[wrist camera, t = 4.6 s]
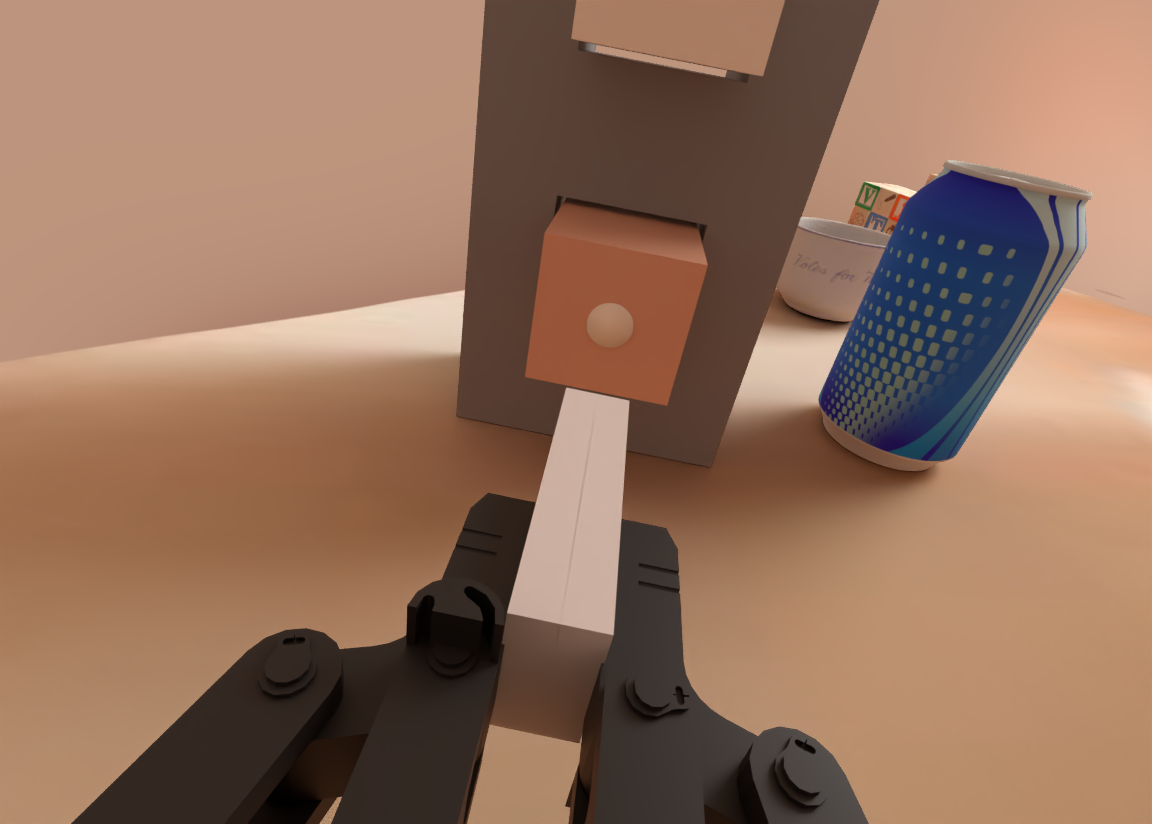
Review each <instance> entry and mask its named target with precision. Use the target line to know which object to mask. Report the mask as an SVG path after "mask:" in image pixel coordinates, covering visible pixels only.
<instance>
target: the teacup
mask: <svg viewBox="0 0 1152 824" xmlns="http://www.w3.org/2000/svg"><path fill="white" fill-rule="evenodd" d="M890 237H891V235H889V234H886V233H883V232H880V231H876V230H873V229H867V228H864V227H861V226H857V225H851V224H847V223H842V222H838V221H833V220H826V219H820V218H811V217H809V218H808V217H801V219H800V222H799V224H798V227H797V230H796V233H795V236H794V238H793V241H792V244H791V247H790V249H789V252H788V255H787V258H786V260H785V263H784V266H783V269H782V272H781V274H780V277H779V280H778V283H777V285H776V288H777V289H778V291H779V292H780V293H781V295H782V296H783V300H784V301H785V302H786V304H788V305H789V306H790V307H792V308H793V309H795V310H797V311H799V312H802V313H805V314H807V315H811V316H814V317H818V318H822V319H827V320H833V321H843V322H846V321H852V320H853V319H854V317H855V315H856V313H857V310H858V308H859V306H860V304H861V302H862V299H863V297H864V295H865V293H866V290H867V288H868V286H869V284H870V281H871V279H872V277H873V275H874V273H875V270H876V268H877V266H878V264H879V261H880V259H881V257H882V255H883V252H884V250H885V248H886V246H887V244H888V241H889V239H890Z"/></svg>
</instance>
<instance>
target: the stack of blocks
mask: <svg viewBox="0 0 1152 824" xmlns="http://www.w3.org/2000/svg"><path fill="white" fill-rule="evenodd" d="M936 176H937V174H930V176H929V178H928V180H927V182H926V184H928V183H929V182H930V181H931V180H933V179H934V178H935V177H936ZM926 184H925V185H926ZM915 193H916V192H915V191H913V190H910V189H907V188H904V187H901V186H897V185H891V184H883V183H882V184H880V183H873V182H865V181H864V183H863V185H862V188H861V190H860V192H859V195H858V197H857V200H856V203H855V207H854V210H853V212H852V214H851V217H850V219H849V221H848V224H851V225H857V226H861V227H864V228H867V229H873V230H876V231H880V232H883V233H886V234H889V235H892V232H893V230H894V228H895V226H896V224H897V221H898V219H899V217H900V215H901V212H902V210H903V208H904V206H905V204H906V202H907V201H908V200H909V198H910V197H912V196H913V195H914V194H915Z"/></svg>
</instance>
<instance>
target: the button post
mask: <svg viewBox="0 0 1152 824" xmlns="http://www.w3.org/2000/svg"><path fill="white" fill-rule="evenodd" d="M878 2H879V0H785V2H784V6H783V9H782V13H781V16H780V19H779V23H778V26H777V30H776V33H775V37H774V40H773V43H772V47H771V50H770V54H769V57H768V61H767V64H766V67H765V71H764V74H763V76H758V75H752V74H746V73H740V72H734V71H728V70H727V73H726V77H720V76H715V75H710V74H705V73H700V72H694V71H690V70H685V69H679V68H674V67H669V66H664V65H659V64H654V63H649V62H643V61H639V60H633V59H629V58H623V57H618V56H613V55H608V54H603V53H598V52H595V50H596V44H591V43H587V42H583V41H579V40H575V39H571V37H572V29H573V22H574V15H575V7H576V0H485V11H484V27H483V40H482V55H481V69H480V84H479V97H478V113H477V126H476V141H475V155H474V169H473V184H472V198H471V213H470V227H469V241H468V257H467V270H466V284H465V299H464V313H463V328H462V342H461V356H460V371H459V385H458V400H457V414H456V416H459V417H464V418H469V419H474V420H479V421H484V422H488V423H493V424H498V425H503V426H508V427H513V428H518V429H523V430H528V431H533V432H538V433H543V434H548V435H553V436H554V433H555V429H556V425H557V421H558V417H559V414H560V410H561V406H562V402H563V399H564V395H565V391H566V388H571V389H576V390H580V391H585V392H590V393H595V394H600V395H605V396H609V397H614V398H619V399H624V400H629V414H628V428H627V443H626V450H627V451H632V452H637V453H642V454H646V455H651V456H656V457H661V458H666V459H671V460H676V461H681V462H686V463H691V464H696V465H701V466H706V467H711V466H712V463H713V460H714V457H715V455H716V452H717V449H718V446H719V443H720V441H721V438H722V435H723V432H724V430H725V427H726V424H727V421H728V418H729V416H730V413H731V410H732V407H733V405H734V402H735V399H736V396H737V394H738V391H739V388H740V385H741V382H742V380H743V377H744V374H745V371H746V369H747V366H748V363H749V360H750V358H751V355H752V352H753V349H754V346H755V344H756V341H757V338H758V335H759V333H760V330H761V327H762V324H763V321H764V319H765V316H766V313H767V310H768V308H769V305H770V302H771V299H772V297H773V294H774V291H775V288H776V285H777V283H778V280H779V277H780V274H781V272H782V269H783V266H784V263H785V260H786V258H787V255H788V252H789V249H790V247H791V244H792V241H793V238H794V236H795V233H796V230H797V227H798V224H799V222H800V219H801V216H802V213H803V211H804V208H805V205H806V202H807V200H808V196H809V194H810V191H811V188H812V186H813V182H814V180H815V177H816V175H817V172H818V169H819V166H820V163H821V161H822V158H823V155H824V152H825V150H826V147H827V144H828V141H829V138H830V136H831V133H832V130H833V127H834V125H835V122H836V119H837V116H838V113H839V111H840V108H841V105H842V102H843V100H844V97H845V94H846V91H847V88H848V86H849V83H850V80H851V78H852V75H853V72H854V69H855V66H856V63H857V61H858V58H859V55H860V53H861V50H862V47H863V44H864V41H865V39H866V36H867V33H868V30H869V27H870V25H871V22H872V19H873V16H874V14H875V11H876V8H877V5H878ZM567 197H569V198H574V199H579V200H584V201H589V202H594V203H599V204H604V205H609V206H614V207H619V208H624V209H629V210H634V211H639V212H644V213H649V214H654V215H659V216H664V217H669V218H674V219H679V220H684V221H689V222H694V223H697V226H698V230H699V234H700V237H701V241H702V245H703V249H704V252H705V256H706V260H707V264H708V267H707V270H706V274H705V277H704V281H703V284H702V287H701V291H700V294H699V298H698V301H697V305H696V308H695V311H694V315H693V318H692V322H691V325H690V329H689V332H688V335H687V339H686V342H685V346H684V349H683V353H682V356H681V360H680V363H679V366H678V370H677V373H676V377H675V380H674V384H673V387H672V390H671V394H670V397H669V401H668V404H667V406H666V405H661V404H656V403H651V402H647V401H642V400H637V399H632V398H627V397H622V396H617V395H612V394H607V393H602V392H597V391H592V390H587V389H582V388H577V387H572V386H567V385H562V384H557V383H552V382H547V381H542V380H537V379H533V378H528V377H525V373H526V365H527V358H528V351H529V343H530V336H531V329H532V321H533V314H534V307H535V300H536V292H537V285H538V278H539V270H540V263H541V256H542V248H543V241H544V234H545V231H546V230H547V228H548V227H549V225H550V223H551V222H552V220H553V219H554V217H555V215H556V214H557V212H558V210H559V209H560V207H561V206H562V204H563V202H564V201H565V199H566V198H567Z"/></svg>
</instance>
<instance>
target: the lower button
mask: <svg viewBox="0 0 1152 824" xmlns="http://www.w3.org/2000/svg"><path fill="white" fill-rule="evenodd" d="M707 267H708V264H707V260H706V256H705V252H704V249H703V245H702V241H701V237H700V234H699V230H698V226H697V223H694V222H689V221H684V220H679V219H674V218H669V217H664V216H659V215H654V214H649V213H644V212H639V211H634V210H629V209H624V208H619V207H614V206H609V205H604V204H599V203H594V202H589V201H584V200H579V199H574V198H569V197H567V198H566V199H565V201H564V202H563V204H562V206H561V207H560V209H559V210H558V212H557V214H556V215H555V217H554V219H553V220H552V222H551V223H550V225H549V227H548V228H547V230H546V231H545V234H544V241H543V248H542V256H541V263H540V270H539V278H538V285H537V292H536V300H535V307H534V314H533V321H532V329H531V336H530V343H529V351H528V358H527V365H526V373H525V377H528V378H533V379H537V380H542V381H547V382H552V383H557V384H562V385H567V386H572V387H577V388H582V389H587V390H592V391H597V392H602V393H607V394H612V395H617V396H622V397H627V398H632V399H637V400H642V401H647V402H651V403H656V404H661V405H666V406H667V404H668V401H669V397H670V394H671V390H672V387H673V384H674V380H675V377H676V373H677V370H678V366H679V363H680V360H681V356H682V353H683V349H684V346H685V342H686V339H687V335H688V332H689V329H690V325H691V322H692V318H693V315H694V311H695V308H696V305H697V301H698V298H699V294H700V291H701V287H702V284H703V281H704V277H705V274H706V270H707Z"/></svg>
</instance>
